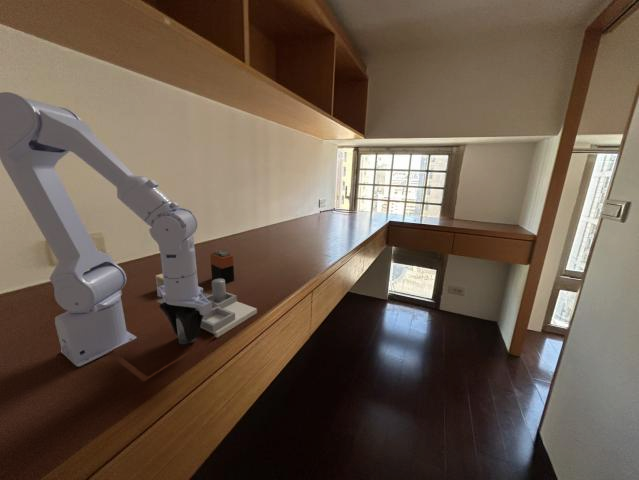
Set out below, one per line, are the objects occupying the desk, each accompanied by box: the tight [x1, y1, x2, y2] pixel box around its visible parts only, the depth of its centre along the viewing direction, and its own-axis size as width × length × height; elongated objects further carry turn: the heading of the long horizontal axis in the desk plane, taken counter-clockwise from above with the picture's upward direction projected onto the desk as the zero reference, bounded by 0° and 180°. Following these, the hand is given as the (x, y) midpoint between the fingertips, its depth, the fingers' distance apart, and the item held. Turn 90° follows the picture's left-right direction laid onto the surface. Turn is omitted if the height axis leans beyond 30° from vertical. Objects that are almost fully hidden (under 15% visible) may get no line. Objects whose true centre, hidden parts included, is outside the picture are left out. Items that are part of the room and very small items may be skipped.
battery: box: [209, 249, 235, 284], centre depth 81 cm, size 4×7×10 cm, turn 50°
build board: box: [200, 279, 258, 338], centre depth 61 cm, size 12×14×7 cm
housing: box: [155, 272, 164, 288], centre depth 74 cm, size 5×5×5 cm
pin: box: [176, 316, 197, 345], centre depth 52 cm, size 3×3×6 cm
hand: (187, 335), depth 52 cm, fingers closed on pin, 3 cm apart
